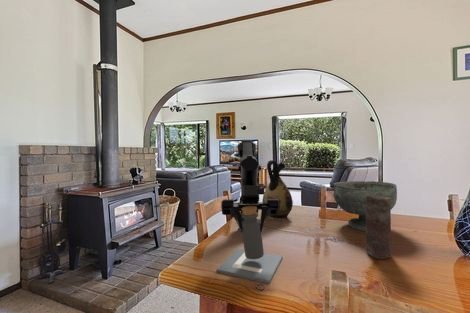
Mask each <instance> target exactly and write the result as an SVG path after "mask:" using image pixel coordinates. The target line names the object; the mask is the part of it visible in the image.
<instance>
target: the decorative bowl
mask: <svg viewBox="0 0 470 313" xmlns="http://www.w3.org/2000/svg"><path fill="white" fill-rule="evenodd" d="M366 195H370V196H379V197H385V198H386V197H389V198H390V206H391V210H392V209H393V208H394V207H395V206H396V204H397V200H398V190H397V184H395V183H393V182H392V183H391V182H387V181H386V182H385V181H365V180H361V181H360V180H358V181H355V180H354V181H339V182H338V181H337V182H334V183H333V198H334V201H335V203H336V204H337V205H338V206H339V207H340V208H341V210H343V211H344V212H345V213H348V214H352V215H358V217H356V218H355V217H354V218H350V219H349V220H348V222H347V225H348V226H349V227H350V228H354V229H355V230H359V231H363V232H366Z"/></svg>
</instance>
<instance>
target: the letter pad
mask: <svg viewBox="0 0 470 313" xmlns="http://www.w3.org/2000/svg"><path fill="white" fill-rule="evenodd" d="M283 258H284V257H283V255H280V254H273V253H267V252H264V255H263V256H262V257H261V258H259V259H248V258H246V257H245V250H244V248H236V249H235V250H234V251H233V252H232V254H230V255H229V256H228V257H227V258H226V259H225V260H224V261H223V262H222V263H221V264H219V266H218V267H217V268H216V272H217V273H221V274H225V275H229V276H234V277H238V278H242V279H247V280H252V281H256V282H261V283H264V284H270V283H271V281H272V279H273V277H274V276H275V274H276V272H277V270H278V268H279V266H280V264H281V263H282V261H283Z"/></svg>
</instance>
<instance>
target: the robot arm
mask: <svg viewBox="0 0 470 313" xmlns="http://www.w3.org/2000/svg"><path fill="white" fill-rule="evenodd" d="M256 147H257V145H256V143H254V142H253V140H252V139H251V140H250V139H249V140H248V139H247V140H246V139H243V140H241V141H240V143H237V154H238V156H239V162H238V165H237V166H238V168H237V169H238V173H240V184H241V186H240V188H241V189H240V191H241V194H240V197H239V202H238V201H237V202H235V201H234V199H233V198H232V199H231V198H228V199H222V200H221V203H220V204H221V205H220V208H221V214H222V215H224V216H230V217H231V218H234V220H235V222H236V224H237V226H238V228H237V229H238V230H239V231H240V233H242V221H243V220H244V218H242V214H243V212H242V208H243V207H246V206H256V207H257V210H256V212H258V213H259V210H260V211H261V213H260V227H261V233H263V230H264V226H265V222H266V219H267V218H269V216H270V215H277V214H278V213H279V208H280V202H279V200H278V199H267V202H266V204H263V203H259V201H260V195H261V196H263V195H264V192H265V184H264V183H258V175H259V173H260V171H261V170H262V166H261V164H260V163H259V161H258V159H257V157H256V156H255V154H256V152H257V148H256Z"/></svg>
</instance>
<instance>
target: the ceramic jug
mask: <svg viewBox="0 0 470 313" xmlns="http://www.w3.org/2000/svg"><path fill="white" fill-rule="evenodd" d="M285 168H286V165H285V164H284V163H282V162H280V163H278V162H277V161H276V160H271V159H270V160H268V162H267V164H266V169H267V173H268V177H269V183H268V185H267V186H266V188H265V189H264V194H263V195H262V203H261V204H266V202H267V199H278V200H279V202H280V208H279V213H278V214H277V215H270V216H269V217H268V218H269V219H270V220H280V221H282V220H288V216H289V214H290V213H291V211H292V210H293V206H294V205H293V204H294V200H293V197H292V194H291V191H290V189H289V188H288V187H287V185H286V183H285V182H284V181H283V179H282V178H281V176H280V172H281V171H282V170H284V169H285Z"/></svg>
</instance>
